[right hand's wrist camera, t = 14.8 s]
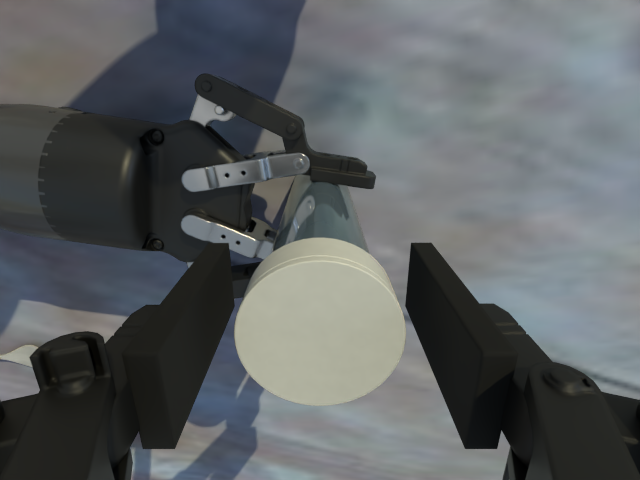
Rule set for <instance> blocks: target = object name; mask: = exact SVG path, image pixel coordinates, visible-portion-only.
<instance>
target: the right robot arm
mask: <svg viewBox="0 0 640 480" xmlns="http://www.w3.org/2000/svg"><path fill="white" fill-rule="evenodd" d="M234 306H235V305H234V294H233V283H232V272H231V262H230V251H229V243H208V244H207V246H206V247H205V248H204V249H203V251H202V252H201V253H200V255H199V256H198V257H197V258H196V260H195V261H194V262H193V263H192V265H191V266H190V267H189V268H188V270H187V271H186V272H185V274H184V275H183V276H182V277H181V279H180V280H179V281H178V282H177V284H176V285H175V286H174V287H173V289H172V290H171V291H170V293H169V294H168V295H167V296H166V298H165V299H164V300H163V301H162V303H161V304H160V305H145V306H144V307H142V308H141V309H139V310H137V311H136V312H134V313H132V314H131V315H130V316H129V317H128V319H127V320H126V321H125V322H124V323H123V324H122V327H120V328H119V329H118V330H117V331H116V332H115V333H114V336H112V337H111V338H110V339H109V340H108V341H107V342H106V343H104V339H103V337H102V336H101V335H100V334H98V333H94V332H88V331H86V332H75V333H71V334H67V335H63V336H60V337H58V338H55V339H53V340H51V341H48V342H47V343H45V344H44V345H42V346H41V347H39V348H37V349H36V350H35V351H34V352H33V354H32V355H31V356H30V357H29V358H30V361H31V364H32V367H33V370H34V373H35V376H36V379H37V382H38V385H39V388H40V391H39V393H38V394H34V395H30V396H25V397H20V398H16V399H11V400H6V401H2V402H1V401H0V480H131V473H132V464H133V461H132V455H131V450H130V446H131V444H132V443H133V441H134V439H135V437H136V435H137V433H138V432H139V434H140V438H141V442H142V447H143V449H175V447H176V445H177V442H178V440H179V438H180V435H181V433H182V431H183V428H184V426H185V423H186V421H187V419H188V416H189V414H190V411H191V409H192V407H193V404H194V402H195V399H196V397H197V395H198V392H199V390H200V388H201V385H202V383H203V380H204V378H205V376H206V373H207V371H208V368H209V366H210V364H211V361H212V359H213V356H214V354H215V352H216V349H217V347H218V344H219V342H220V340H221V337H222V335H223V333H224V330H225V328H226V325H227V323H228V321H229V318H230V316H231V313H232V311H233V309H234ZM405 306H406V309H407V311H408V313H409V316H410V318H411V321H412V323H413V325H414V328H415V330H416V333H417V335H418V337H419V340H420V342H421V345H422V347H423V349H424V352H425V354H426V356H427V359H428V361H429V364H430V366H431V368H432V371H433V373H434V376H435V378H436V380H437V383H438V385H439V388H440V390H441V392H442V395H443V397H444V399H445V402H446V404H447V407H448V409H449V411H450V414H451V416H452V419H453V421H454V423H455V426H456V428H457V431H458V433H459V435H460V438H461V440H462V443H463V445H464V447H465V449H497V447H498V442H499V438H500V434H501V430H502V432H503V433H504V435H505V437H506V439H507V441H508V442H509V444H510V450H509V455H508V459H507V463H506V467H505V471H504V475H503V480H640V400H637V399H632V398H628V397H623V396H618V395H613V394H609V393H604V392H601V391H600V389H599V388H598V386H597V385H596V384H595V382H594V381H593V380H592V379H590V378H589V377H588V376H586V375H585V374H584V373H582V372H580V371H578V370H576V369H574V368H572V367H570V366H566V365H563V364H560V363H555V362H552V361H551V360H550V358H549V357H548V356H547V355H546V354H545V353H544V352H543V351H542V349H541V348H540V347H539V346H538V345H537V344H536V343H535V342H534V341H533V339H532V338H531V337H530V336H529V335H528V334H526V332H525V330H524V329H523V328H522V327H521V326H520V325H518V323H517V322H516V320H515V319H514V318H513V317H512V316H511V315H510V314H509V313H508V312H507V311H505V310H503V309H502V308H500V307H498V306H497V305H495V304H479V303H478V301H477V300H476V299H475V298H474V296H473V295H472V294H471V293H470V291H469V290H468V289H467V287H466V286H465V285H464V284H463V282H462V281H461V280H460V279H459V277H458V276H457V275H456V274H455V272H454V271H453V270H452V268H451V267H450V266H449V265H448V263H447V262H446V261H445V260H444V258H443V257H442V256H441V255H440V253H439V252H438V251H437V249H436V248H435V247H434V246H433V244H432V243H411V251H410V262H409V272H408V283H407V294H406V305H405Z"/></svg>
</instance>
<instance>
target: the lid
mask: <svg viewBox="0 0 640 480" xmlns="http://www.w3.org/2000/svg"><path fill="white" fill-rule="evenodd" d="M405 338H406V328H405V320H404V316H403V313H402V310H401V308H400V305H399V302H398V300H397V297H396V295H395V292H394V290H393V287H392V285H391V282H390V280H389V277H388V275H387V274H386V272H385V270H384V269H383V268H382V266H381V265H380V264H379V263H378V261H377V260H376V259H374V258H373V257H372V256H371V255H370V254H369V253H367V252H366V251H364V250H363V249H361V248H359V247H357V246H355V245H353V244H351V243H348V242H345V241H342V240H338V239H332V238H308V239H302V240H298V241H294V242H292V243H289V244H287V245H284V246H282V247H281V248H279V249H277V250H275V251H274V252H273V253H271V254H270V255H269V256H267V257H266V258H265V259H264V260H263V261H262V262H261V263H260V265H259V266H258V267H257V269H256V270H255V272H254V273H253V275H252V277H251V279H250V282H249V284H248V287H247V289H246V292H245V294H244V297H243V299H242V302H241V305H240V307H239V310H238V313H237V315H236V320H235V325H234V339H235V346H236V350H237V353H238V356H239V358H240V360H241V363H242V364H243V366H244V368H245V369H246V371H247V372H248V373H249V375H250V376H251V377H252V378H253V379H254V380H255V381H256V382H257V383H258V384H259V385H260V386H262V387H263V388H264V389H266V390H267V391H269V392H270V393H272V394H274V395H276V396H278V397H280V398H282V399H285V400H287V401H291V402H294V403H298V404H303V405H312V406H329V405H337V404H341V403H346V402H349V401H352V400H355V399H358V398H360V397H362V396H364V395H366V394H368V393H369V392H371V391H373V390H374V389H376V388H377V387H378V386H379V385H381V384H382V383H383V382H384V381H385V380H386V379H387V378H388V377H389V376H390V374H391V373H392V372H393V370H394V369H395V367H396V366H397V364H398V362H399V360H400V358H401V355H402V353H403V349H404V345H405Z"/></svg>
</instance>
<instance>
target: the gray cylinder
mask: <svg viewBox="0 0 640 480" xmlns="http://www.w3.org/2000/svg"><path fill="white" fill-rule="evenodd" d="M308 238H332V239H338V240H342V241H345V242H348V243H351V244H353V245H355V246H357V247H359V248H361V249H363V250H364V251H366V252H367V253H369V250H368V247H367V244H366V241H365V238H364V235H363V232H362V229H361V226H360V223H359V220H358V216H357V213H356V210H355V207H354V204H353V201H352V198H351V195H350V192H349V189H348V186H345V185H338V184H331V183H326V182H317V181H310V176H308V175H296V176H295V179H294V182H293V185H292V188H291V191H290V194H289V197H288V200H287V203H286V206H285V209H284V212H283V215H282V219H281V222H280V225H279V228H278V231H277V234H276V237H275V240H274V243H273V246H272V249H271V252H270V254H271V253H273V252H274V251H275V250H277V249H279V248H281V247H282V246H284V245H287V244H289V243H292V242H294V241H298V240H302V239H308ZM369 254H370V253H369Z"/></svg>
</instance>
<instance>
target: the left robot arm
mask: <svg viewBox="0 0 640 480" xmlns="http://www.w3.org/2000/svg"><path fill="white" fill-rule="evenodd" d="M195 89H196V92H197V93H198V96H197V99H196V102H195V104H194V107H193V110H192V113H191V116H190V119H189V120H183V121H180V122H178V123H176V124H173V125H169V124H161V123H154V122H147V121H141V120H134V119H127V118H121V117H114V116H108V115H101V114H94V113H88V112H82V111H80V110H77V109H73V108H68V107H59V108H54V107H47V106H39V105H28V104H0V229H4V230H7V231H11V232H15V233H19V234H23V235H29V236H35V237H43V238H51V239H58V240H66V241H73V242H80V243H88V244H95V245H103V246H110V247H118V248H125V249H133V250H140V251H162V252H165V253H168V254H170V255H172V256H174V257H175V258H177V259H178V260H180V261H183V262H186V263H187V266H188V268H189V267H190V266H191V265H192V263H193V262H194V261H195V260H196V258H197V257H198V256H199V255H200V253H201V252H202V251H203V249H204V248H205V247H206V246H207V244H208V243H229V249H230V250H232V251H235V252H237V253H239V254H242V255H244V256H247V257H250V258H255V257H258V258H261V259H265V258H266V257H267V256H269V255H270V252H271V249H272V246H273V243H274V240H275V237H276V234H277V231H278V230H276V229H273V228H271V227H270V226H269V225H268V224H267V223H265V222H263V221H261V220H259V219H257V218H254V217H252V206H251V201H250V196H251V193H252V191H253V188H254V184H255V183H256V182H263V181H267V180H269V179H273V178H280V177H288V176H295V175H308V176H310V181H317V182H326V183H331V184H338V185H345V186H352V187H359V188H366V189H373V188H374V184H375V179H376V176H375V174H374V173H373V172H371V171H367V165H366V164H365V162H363V161H361V160H360V159H358V158H354V157H347V156H340V155H334V154H327V153H321V152H316V151H314V150H312V149H311V148H310V147H309V145H308V143H307V139H306V134H305V130H304V122H303V120H302V119H301V118H300V117H299V116H297V115H295V114H293V113H291V112H289V111H287V110H285V109H283V108H281V107H279V106H277V105H275V104H273V103H271V102H269V101H267V100H265V99H263V98H261V97H259V96H257V95H255V94H253V93H251V92H250V91H248V90H246V89H244V88H242V87H240V86H238V85H236V84H234V83H232V82H230V81H228V80H226V79H224V78H222V77H218V76H215V75H211V74H201V75H199V76H198V77H197V79H196V81H195ZM236 114H237V115H239V116H241V117H243V118H245V119H247V120H249V121H251V122H253V123H255V124H257V125H259V126H261V127H263V128H265V129H267V130H269V131H271V132H273V133H275V134H277V135H279V136H281V137H282V138H283V142H284V147H285V150H280V151H267V152H259V153H252V154H245V155H241V154H240V153H239V152H238V151H236V150H235V149H234V148H233V147H232V146H231V145H230V144H229V143H228V142H227V141H226V140H225V139H223V138H222V137H221V136H220V135H219V134H218V133H217V132H216V131H215V130H214V129H213V128H212V127H211V126H210V124H211V122H212V121H214V120H219V121H229V120H232V119H233V118H234V117H235V116H236ZM239 241H240V242H239ZM260 263H261V262H257V263H250V264H244V265H237V266H231V272H232V283H233V294H234V298H241V297H244V294H245V292H246V289H247V287H248V284H249V282H250V279H251V277H252V275H253V273H254V272H255V270H256V269H257V267H258V266H259V265H260Z"/></svg>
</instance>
